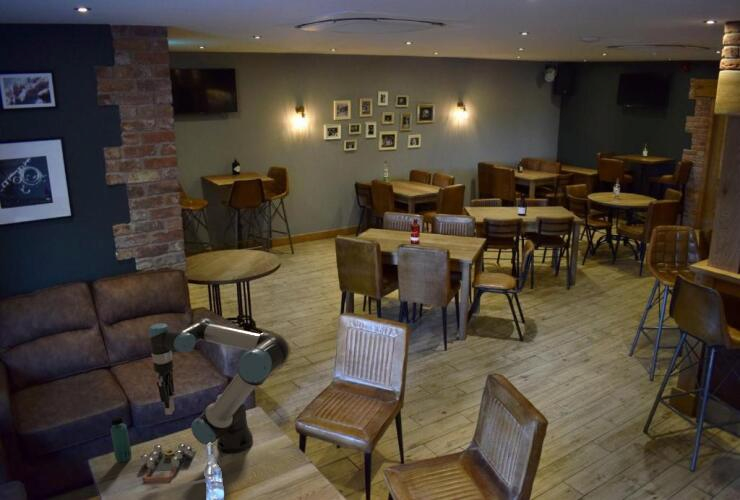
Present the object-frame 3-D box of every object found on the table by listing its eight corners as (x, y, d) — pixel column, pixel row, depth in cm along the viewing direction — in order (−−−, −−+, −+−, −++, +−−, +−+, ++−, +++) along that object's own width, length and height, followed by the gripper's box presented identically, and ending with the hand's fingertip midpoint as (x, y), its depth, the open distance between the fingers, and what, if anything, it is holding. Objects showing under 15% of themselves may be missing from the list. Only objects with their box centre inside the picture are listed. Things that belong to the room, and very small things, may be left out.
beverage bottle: (126, 466, 240) (119, 422, 235) (112, 464, 241) (104, 421, 236) (135, 457, 246) (128, 414, 241) (121, 455, 247) (114, 413, 243)
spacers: (195, 453, 245) (193, 442, 244) (186, 470, 233) (185, 459, 232) (149, 455, 245) (147, 445, 244) (138, 472, 233) (137, 461, 232)
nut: (176, 453, 245) (175, 447, 245) (175, 459, 241) (174, 453, 240) (166, 455, 244) (165, 449, 244) (165, 461, 240) (164, 455, 239)
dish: (176, 472, 233) (176, 467, 233) (171, 482, 227) (170, 476, 227) (149, 474, 233) (148, 468, 233) (143, 484, 227) (142, 478, 227)
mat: (197, 453, 246) (197, 451, 246) (188, 471, 234) (187, 469, 234) (150, 455, 246) (150, 453, 246) (138, 474, 234) (138, 472, 234)
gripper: (160, 353, 246) (167, 403, 252) (147, 369, 232) (155, 422, 237) (177, 352, 246) (184, 403, 252) (165, 368, 232) (173, 421, 237)
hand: (170, 412), depth 244 cm, fingers open, 2 cm apart
